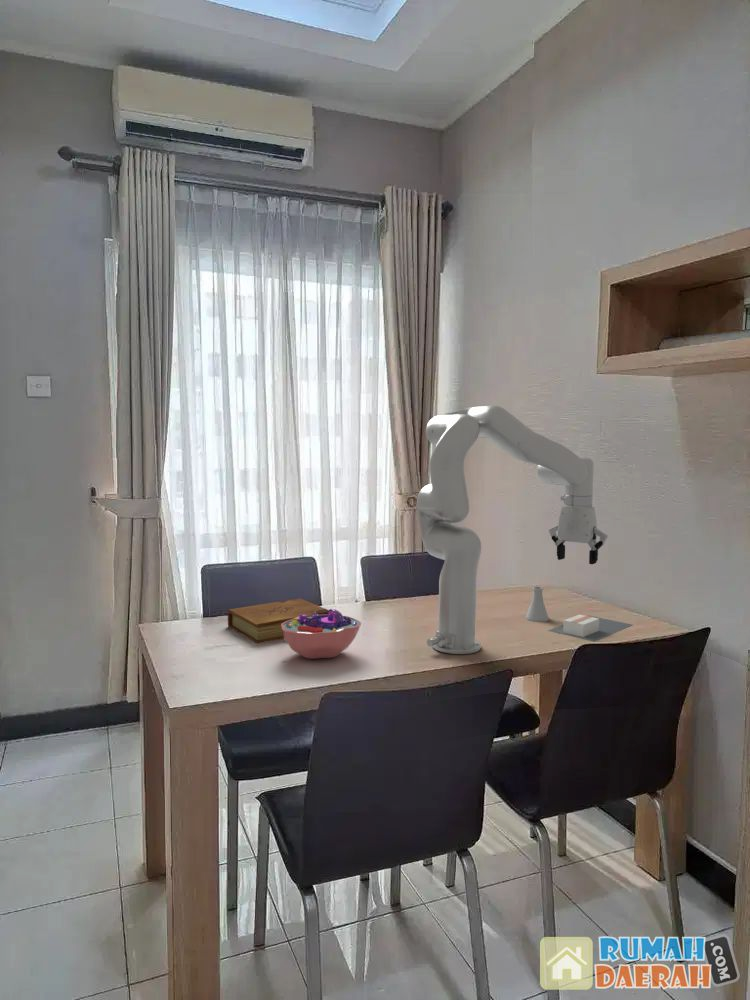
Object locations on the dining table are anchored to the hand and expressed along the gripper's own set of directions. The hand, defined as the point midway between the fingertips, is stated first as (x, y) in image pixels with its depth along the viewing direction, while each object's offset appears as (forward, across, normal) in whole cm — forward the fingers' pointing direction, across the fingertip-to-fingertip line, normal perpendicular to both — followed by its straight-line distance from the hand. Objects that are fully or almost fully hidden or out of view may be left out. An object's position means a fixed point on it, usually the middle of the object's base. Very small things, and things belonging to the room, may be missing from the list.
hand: (576, 561), depth 195 cm
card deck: (+19, +3, -3) cm, 20 cm away
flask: (+20, -12, 0) cm, 24 cm away
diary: (+19, -59, -60) cm, 87 cm away
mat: (+20, +4, +3) cm, 20 cm away
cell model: (+19, -34, -68) cm, 78 cm away
